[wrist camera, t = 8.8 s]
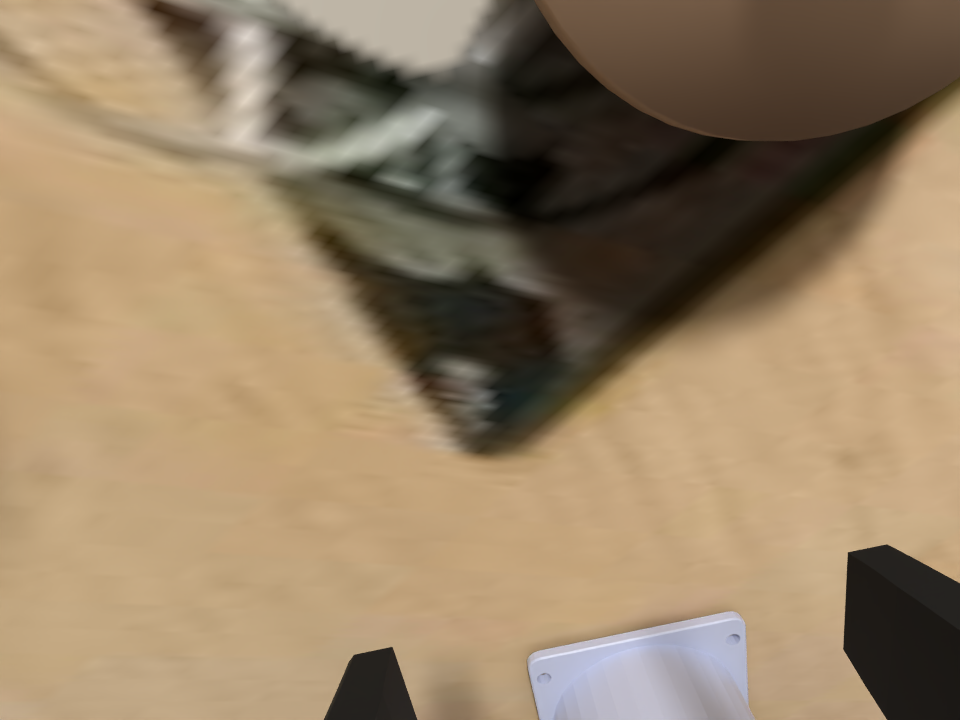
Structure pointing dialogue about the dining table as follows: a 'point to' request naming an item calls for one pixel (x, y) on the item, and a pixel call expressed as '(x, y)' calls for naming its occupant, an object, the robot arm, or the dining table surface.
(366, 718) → the robot arm
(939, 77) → the lid
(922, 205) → the dining table surface
